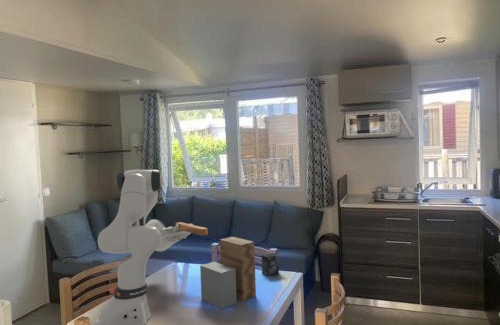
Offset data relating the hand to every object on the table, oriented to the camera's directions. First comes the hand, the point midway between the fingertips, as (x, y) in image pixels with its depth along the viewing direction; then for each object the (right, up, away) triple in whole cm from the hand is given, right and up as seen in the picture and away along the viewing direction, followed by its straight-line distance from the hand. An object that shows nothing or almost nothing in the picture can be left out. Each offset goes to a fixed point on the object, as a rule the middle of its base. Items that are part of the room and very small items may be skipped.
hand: (182, 225), depth 199 cm
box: (+46, -30, +17) cm, 57 cm away
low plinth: (+20, -32, -20) cm, 42 cm away
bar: (+5, -2, -6) cm, 8 cm away
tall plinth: (+29, -31, -12) cm, 44 cm away
